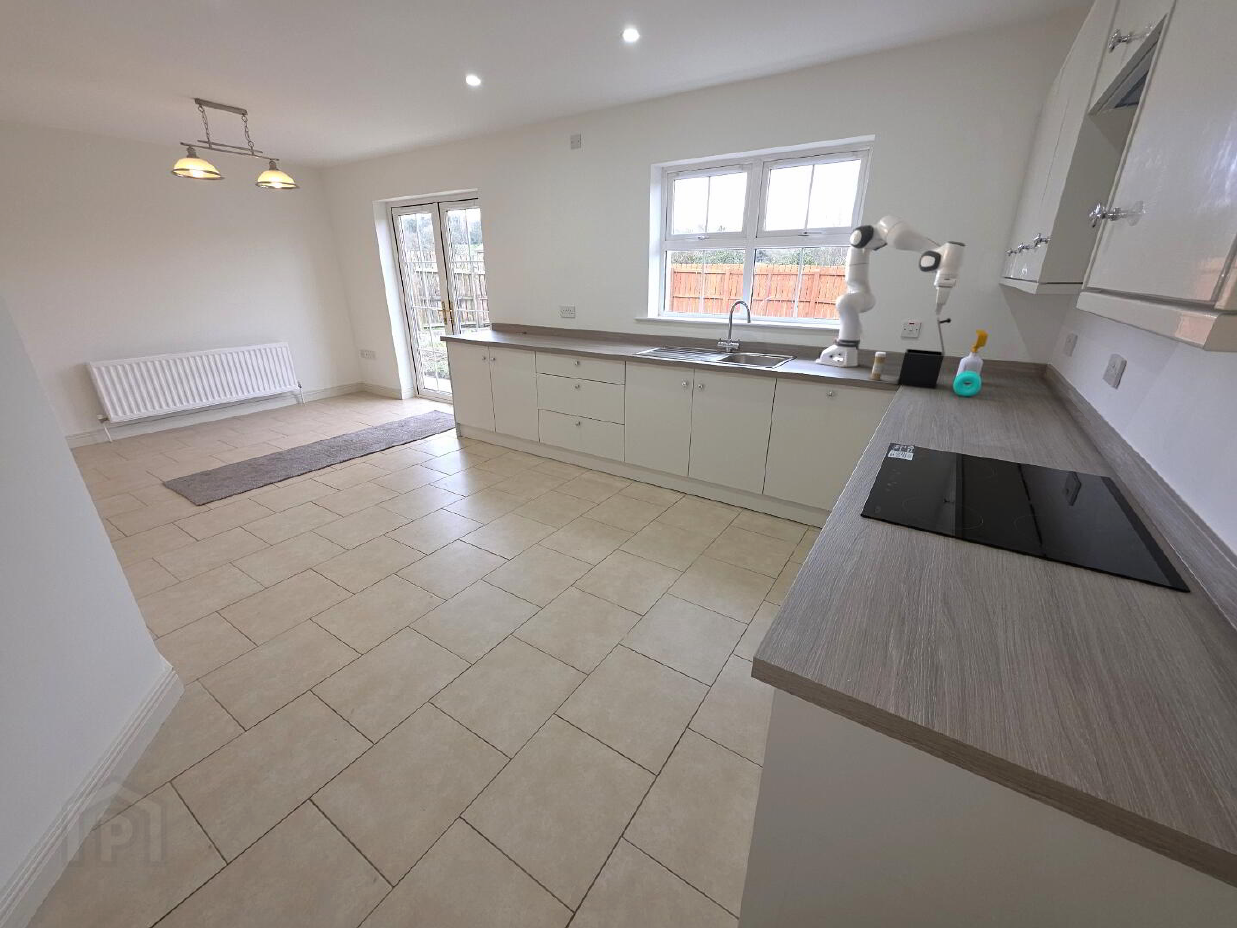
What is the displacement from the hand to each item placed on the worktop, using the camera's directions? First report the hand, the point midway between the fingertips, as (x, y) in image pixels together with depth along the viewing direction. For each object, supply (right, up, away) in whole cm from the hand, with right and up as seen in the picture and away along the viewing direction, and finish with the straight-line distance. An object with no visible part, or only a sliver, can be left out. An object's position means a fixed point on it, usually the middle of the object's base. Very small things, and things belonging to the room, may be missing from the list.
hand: (937, 313), depth 222 cm
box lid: (+3, -10, +2) cm, 10 cm away
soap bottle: (+27, -28, +19) cm, 43 cm away
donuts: (+9, -38, -4) cm, 39 cm away
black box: (-1, -30, +14) cm, 33 cm away
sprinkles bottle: (-17, -26, +22) cm, 38 cm away
